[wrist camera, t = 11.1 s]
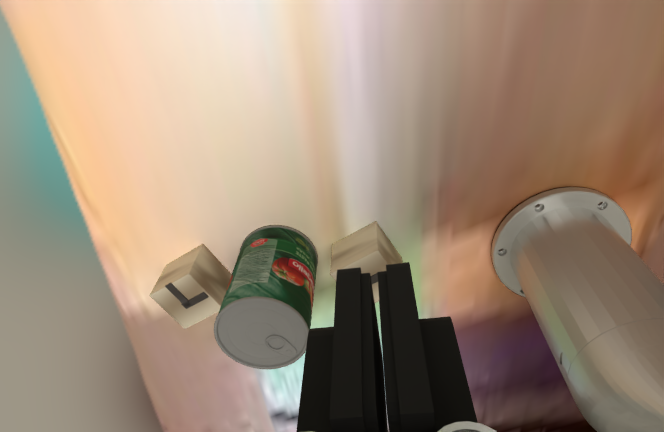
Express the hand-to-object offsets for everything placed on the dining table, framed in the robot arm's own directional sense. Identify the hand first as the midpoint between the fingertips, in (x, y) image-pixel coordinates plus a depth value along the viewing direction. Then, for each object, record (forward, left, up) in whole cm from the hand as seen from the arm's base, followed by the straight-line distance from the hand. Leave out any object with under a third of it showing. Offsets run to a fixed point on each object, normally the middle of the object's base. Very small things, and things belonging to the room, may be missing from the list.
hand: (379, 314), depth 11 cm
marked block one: (-17, +10, -31) cm, 37 cm away
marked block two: (-10, +26, -31) cm, 42 cm away
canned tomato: (-13, +18, -31) cm, 38 cm away
